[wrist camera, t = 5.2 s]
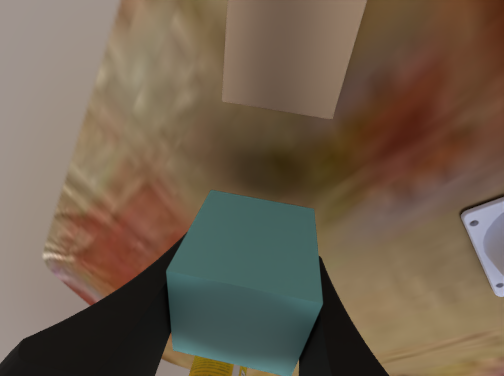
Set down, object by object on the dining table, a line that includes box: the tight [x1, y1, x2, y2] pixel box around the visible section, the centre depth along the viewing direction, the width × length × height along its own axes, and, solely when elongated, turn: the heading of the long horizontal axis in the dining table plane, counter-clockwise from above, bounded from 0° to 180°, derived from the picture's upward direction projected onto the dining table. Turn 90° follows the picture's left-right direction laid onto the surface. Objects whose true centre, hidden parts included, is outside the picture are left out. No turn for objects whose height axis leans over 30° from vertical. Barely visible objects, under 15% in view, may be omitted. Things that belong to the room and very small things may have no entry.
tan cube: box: [222, 0, 367, 119], centre depth 12 cm, size 5×5×5 cm
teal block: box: [166, 190, 323, 376], centre depth 11 cm, size 5×5×5 cm
